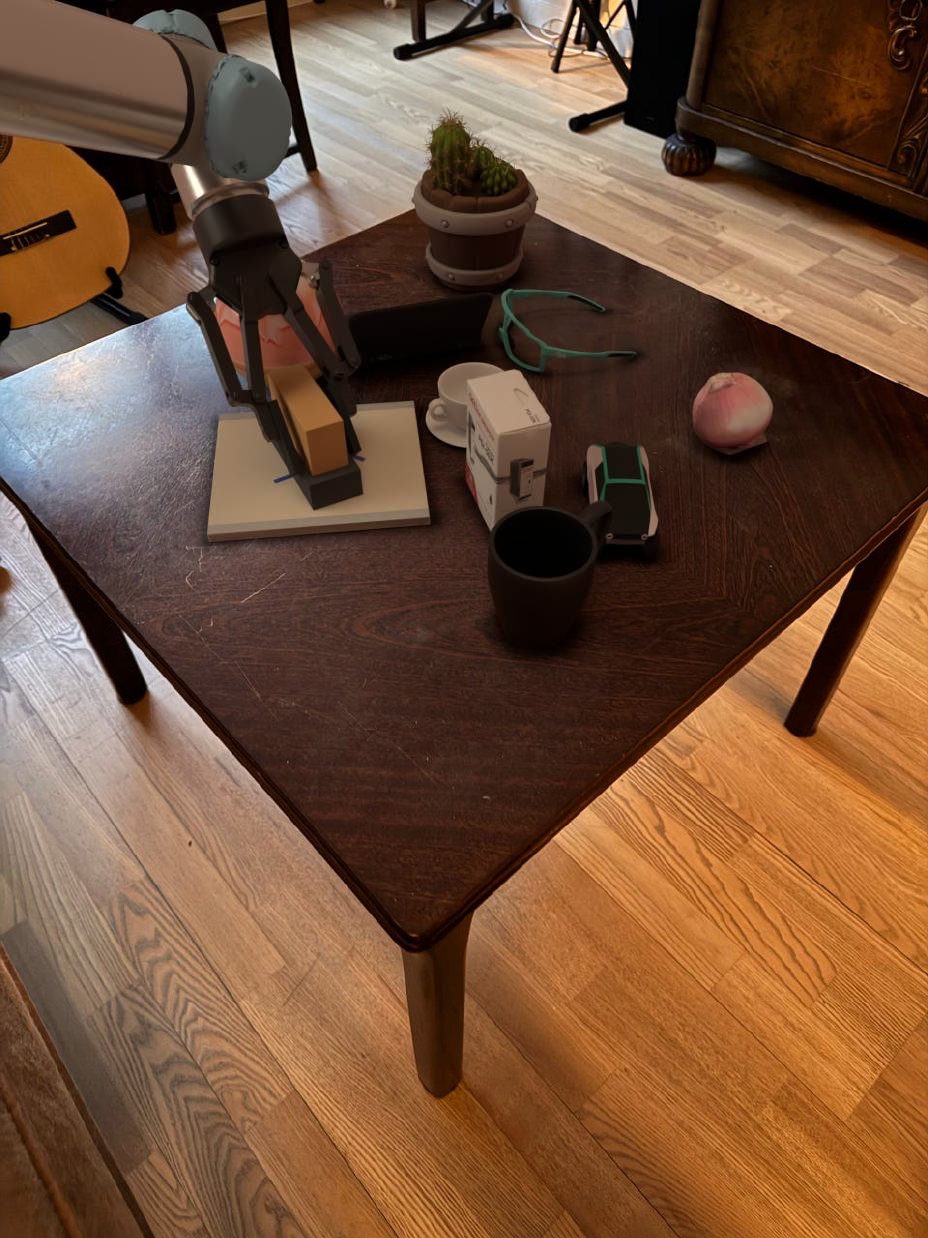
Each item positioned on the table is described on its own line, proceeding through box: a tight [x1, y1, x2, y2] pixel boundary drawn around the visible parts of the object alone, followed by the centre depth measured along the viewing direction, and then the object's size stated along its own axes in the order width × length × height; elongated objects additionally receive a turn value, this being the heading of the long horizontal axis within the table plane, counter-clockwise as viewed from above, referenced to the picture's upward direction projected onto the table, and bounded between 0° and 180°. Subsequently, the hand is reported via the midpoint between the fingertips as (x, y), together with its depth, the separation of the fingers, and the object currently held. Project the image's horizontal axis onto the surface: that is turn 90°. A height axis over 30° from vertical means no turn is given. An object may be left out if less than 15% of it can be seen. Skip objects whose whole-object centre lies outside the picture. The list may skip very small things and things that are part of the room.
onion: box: [692, 372, 774, 456], centre depth 86 cm, size 8×8×7 cm
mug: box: [487, 500, 613, 651], centre depth 69 cm, size 8×12×10 cm
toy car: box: [581, 441, 660, 559], centre depth 79 cm, size 6×12×5 cm, turn 178°
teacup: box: [425, 361, 505, 449], centre depth 88 cm, size 10×10×5 cm
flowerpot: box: [410, 107, 539, 293], centre depth 103 cm, size 14×15×20 cm
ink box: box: [465, 368, 552, 532], centre depth 77 cm, size 9×5×12 cm, turn 18°
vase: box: [214, 258, 346, 390], centre depth 89 cm, size 14×14×18 cm
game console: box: [345, 291, 494, 367], centre depth 96 cm, size 16×14×9 cm
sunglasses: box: [498, 288, 637, 373], centre depth 99 cm, size 14×15×5 cm
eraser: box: [267, 363, 363, 510], centre depth 81 cm, size 5×12×8 cm, turn 28°
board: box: [206, 400, 431, 543], centre depth 84 cm, size 20×18×1 cm
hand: (326, 462), depth 79 cm, fingers closed on eraser, 5 cm apart
